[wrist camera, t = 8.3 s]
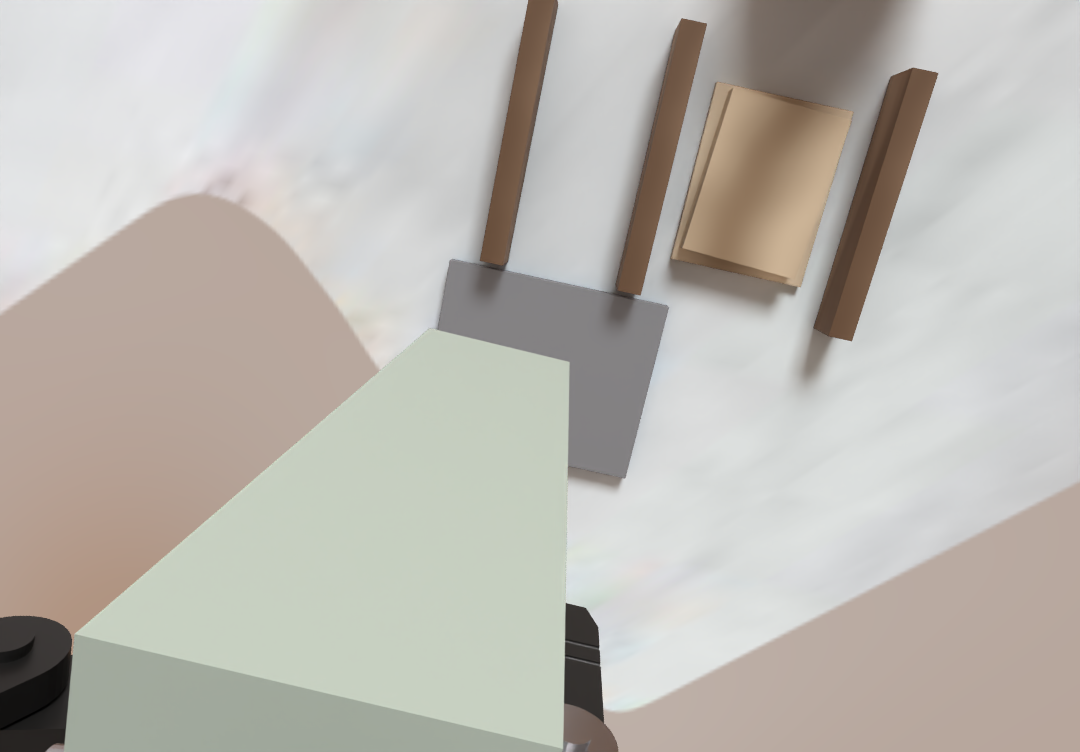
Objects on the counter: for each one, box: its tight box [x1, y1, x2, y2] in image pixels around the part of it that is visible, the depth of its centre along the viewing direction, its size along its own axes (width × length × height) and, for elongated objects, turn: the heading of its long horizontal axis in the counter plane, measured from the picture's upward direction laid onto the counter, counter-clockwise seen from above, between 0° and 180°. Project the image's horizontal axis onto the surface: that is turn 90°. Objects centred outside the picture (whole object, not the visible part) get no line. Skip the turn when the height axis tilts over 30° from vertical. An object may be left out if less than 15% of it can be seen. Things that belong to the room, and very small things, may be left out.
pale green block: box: [64, 328, 570, 752], centre depth 11 cm, size 3×8×11 cm, turn 167°
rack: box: [480, 0, 938, 341], centre depth 36 cm, size 19×13×2 cm
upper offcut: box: [679, 87, 852, 280], centre depth 37 cm, size 6×8×1 cm
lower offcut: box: [671, 82, 853, 287], centre depth 38 cm, size 7×9×1 cm
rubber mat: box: [438, 259, 669, 478], centre depth 40 cm, size 12×10×1 cm
